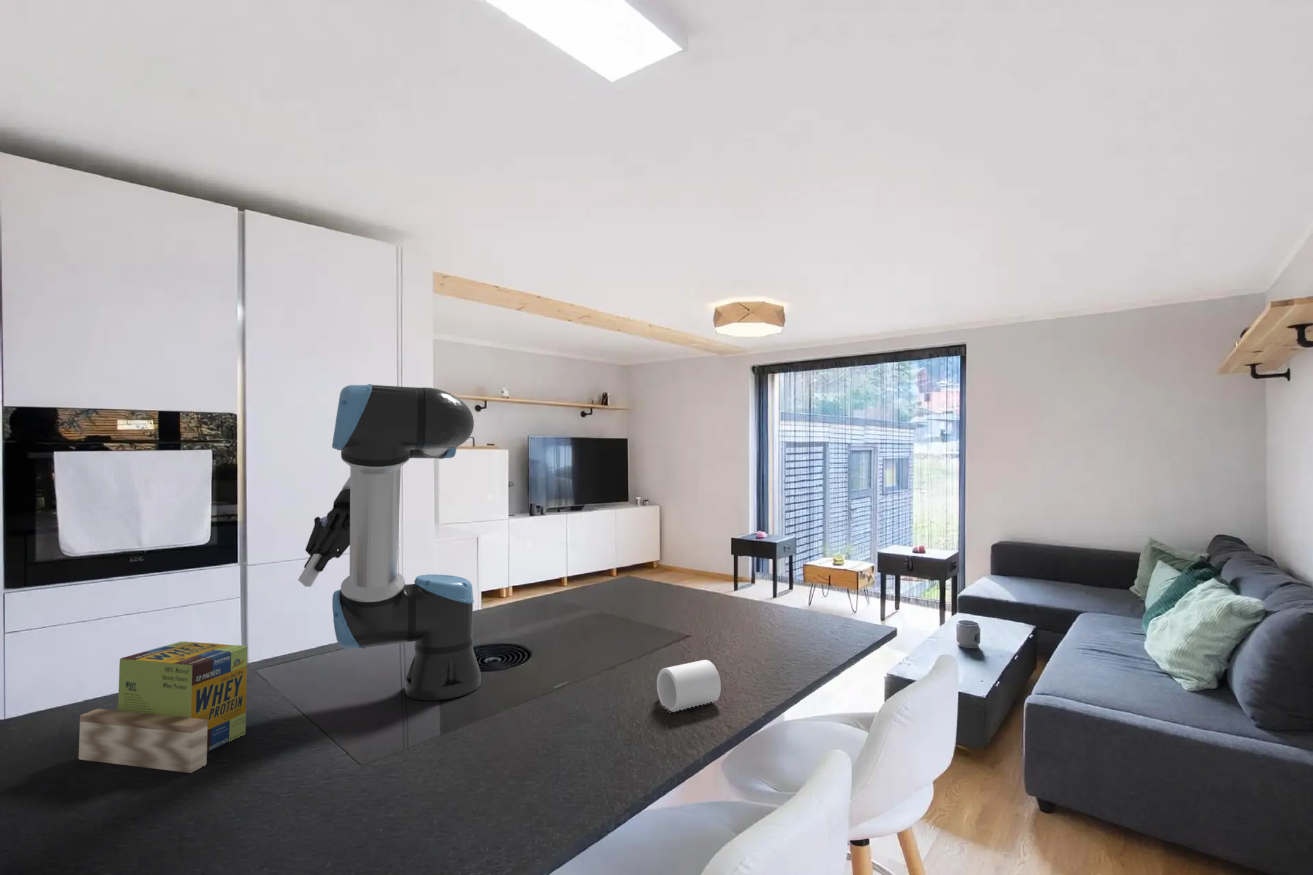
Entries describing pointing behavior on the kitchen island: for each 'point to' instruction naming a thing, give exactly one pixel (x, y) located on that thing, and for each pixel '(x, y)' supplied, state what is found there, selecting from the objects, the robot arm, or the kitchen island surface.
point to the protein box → (189, 686)
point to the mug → (688, 685)
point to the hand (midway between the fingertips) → (304, 583)
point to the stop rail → (143, 740)
